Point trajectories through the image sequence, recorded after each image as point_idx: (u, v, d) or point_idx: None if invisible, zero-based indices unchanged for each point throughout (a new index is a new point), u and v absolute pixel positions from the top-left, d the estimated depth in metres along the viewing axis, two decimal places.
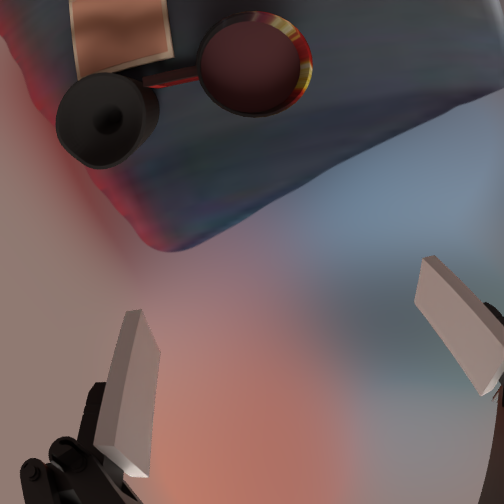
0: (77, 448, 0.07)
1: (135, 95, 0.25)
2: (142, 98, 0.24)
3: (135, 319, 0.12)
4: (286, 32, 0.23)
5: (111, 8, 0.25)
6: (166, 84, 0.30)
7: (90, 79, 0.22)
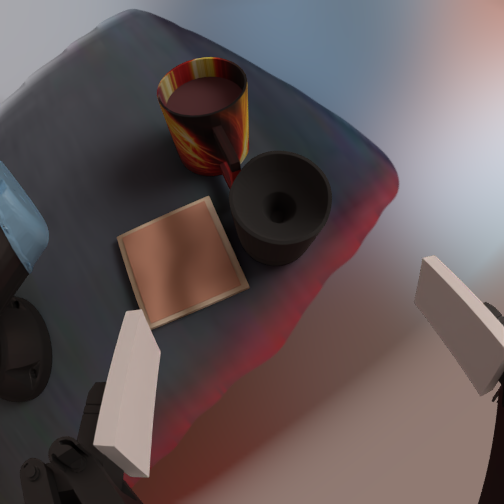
0: (77, 448, 0.07)
1: (249, 171, 0.30)
2: (250, 160, 0.29)
3: (135, 319, 0.12)
4: (170, 89, 0.32)
5: (161, 271, 0.35)
6: None
7: (237, 213, 0.27)
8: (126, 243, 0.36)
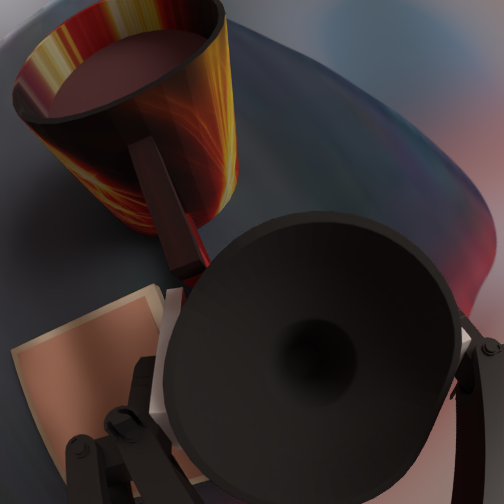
0: (134, 418, 0.08)
1: (228, 279, 0.10)
2: (231, 245, 0.09)
3: (178, 296, 0.13)
4: (65, 64, 0.12)
5: (80, 426, 0.15)
6: None
7: (190, 434, 0.08)
8: (23, 366, 0.16)
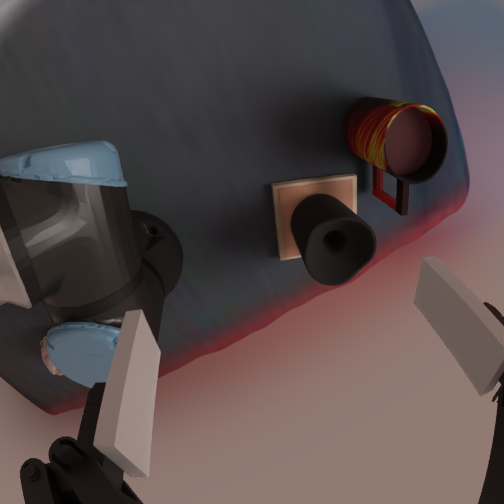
0: (76, 448, 0.07)
1: (328, 223, 0.36)
2: (333, 219, 0.35)
3: (135, 319, 0.12)
4: None
5: None
6: (381, 189, 0.43)
7: (307, 259, 0.37)
8: (281, 195, 0.43)
